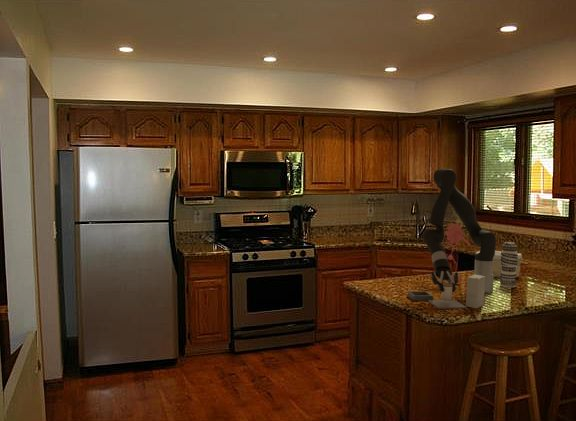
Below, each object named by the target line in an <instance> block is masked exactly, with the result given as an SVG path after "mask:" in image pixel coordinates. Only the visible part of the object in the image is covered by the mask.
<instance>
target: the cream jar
mask: <svg viewBox="0 0 576 421" xmlns="http://www.w3.org/2000/svg"><path fill="white" fill-rule="evenodd" d="M442 284H443V288H444V291H443V292H441V299H440V300H444V301H451V300H453V292H452V287H453V284H452V283H449V282H448V281H446V282H444V281H443V282H442Z"/></svg>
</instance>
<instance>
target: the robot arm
mask: <svg viewBox="0 0 576 421" xmlns="http://www.w3.org/2000/svg"><path fill="white" fill-rule="evenodd" d="M456 181H457V173H456V171H455V170H453V169H450V168H439V169H436V170H435V171H434V173H433V182H434V183H435V185H436V186H437V188H439V189H440V191H439V194H438V197H437V199H436V201H435V202H434V204H433V207H432V208H431V212H430V216H429V224H430V225H432V226H434V227H435V229H432V228H426V229H425V230H424V232H423V234H422V238H423V241H424V243H425V246H426V247H427V248H428V250H429V253H430V255H431V256H430V257H431V261H432V262H431V263H432V265H433V270H434V272H433V271H432V272H430V275H429V276H430V278H431V281H432V282H433V284H434V286H436V285H437V286H438V288H439V291H440V292H441V293H442V292H443V291H444V288H443V284H442V283H443V281H446V282H448V283H452V284H453V287H452V293H455V292H456V290H457V288H456V287H457V286H456V285H457V283H459V282H458V277H459V273H458V271H456V273H455V272H452V270H451V267H450V263H449V259H447V258H448V256H447V254H446V251H445V248H444V245H443V243H441V242H443V241H444V239H445V232H444V222H445V221H444V220H445V216H446V211H447V207H448V204H450V206H451V207H452V208H453V210H454V212H455V213H456V215H457V217H459V219H460V221H461V222H462V225H463V226H465V228H466V230H467V232H468V234H469V237H470V238H471V240H472V242H473V244H475V245H476V246H477V247H479V248H480V249H479V251H480V252H479V251H478V252H479V253H478V254H476V253H475V256H474V273H473V275H474V274H476V275H481V276H485V292H484V294H488V293H494V278H495V277H494V275H493V274H492V269H493V257H494V255H495V251H496V247H497V246H496V244H497V239H496V238H497V237H496V235H495V233H494V232H493V231H489V230H484V229H483V228H482V227H481V224H479V222H478V220H477V213H476V209H475V207H474V205H473V203H472V202H471V201H470V200H469V198H468V197H467V196H466V195H464V194H463V193H462V192H461V191H460V190H459V189H458V188H457V187H456V186H455V185H456ZM453 278H454V280H453Z"/></svg>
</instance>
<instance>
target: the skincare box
mask: <svg viewBox="0 0 576 421" xmlns="http://www.w3.org/2000/svg"><path fill="white" fill-rule="evenodd" d="M484 292H485V276H481V275H476V274H474V273H473V274H471V275H469V276H468V277H467V279H466V296H465V307H466V308H467V307H469V308H473V309H479V308H481V307H483V306H484V305H485V293H484Z"/></svg>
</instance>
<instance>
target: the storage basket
mask: <svg viewBox="0 0 576 421" xmlns="http://www.w3.org/2000/svg"><path fill="white" fill-rule="evenodd" d="M479 252H480V250H479V251H476V253H475V255H476V254H478V253H479ZM501 253H502V250H501V251H500V250H495V255H494V257H493V269H492V274H493V275H494V278H498V279H501V277H500V276H501V274H500V273H501V270H502V266H501V262H502V261H501V256H502V255H501ZM517 255H518V256H517V258H518V259H516V261H517V262H516V263H517V267H516V276H515V277H516V278H518V277H519V276H520V270H521V261H522V259H523V255H522V253H518V252H517Z"/></svg>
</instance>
